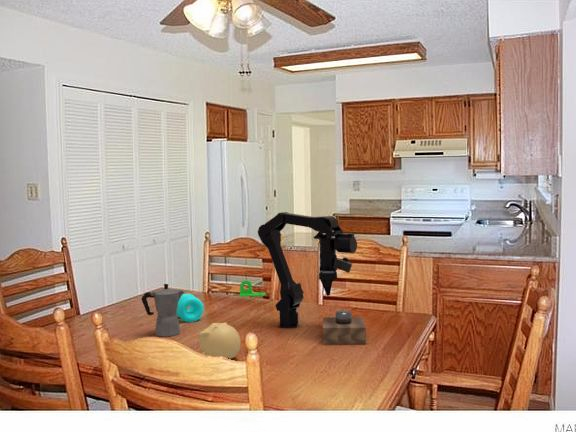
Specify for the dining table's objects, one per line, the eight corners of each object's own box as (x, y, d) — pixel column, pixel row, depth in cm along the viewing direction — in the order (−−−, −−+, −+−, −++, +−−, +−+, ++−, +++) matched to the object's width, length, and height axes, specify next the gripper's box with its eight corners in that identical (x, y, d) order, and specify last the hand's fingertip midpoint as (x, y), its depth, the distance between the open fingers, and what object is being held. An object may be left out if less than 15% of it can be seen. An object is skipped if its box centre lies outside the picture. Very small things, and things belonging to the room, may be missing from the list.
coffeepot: (182, 327, 206) (180, 280, 205) (189, 333, 197) (187, 284, 196) (140, 333, 199) (138, 284, 198) (145, 340, 191) (143, 288, 190)
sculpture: (216, 350, 177) (215, 316, 177) (247, 355, 171) (246, 321, 170) (193, 360, 167) (192, 325, 167) (225, 366, 161) (224, 329, 161)
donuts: (197, 316, 224) (196, 291, 223) (204, 321, 215) (204, 296, 214) (173, 319, 220) (172, 294, 219) (179, 324, 211) (178, 298, 210)
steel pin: (336, 339, 185) (335, 314, 184) (335, 334, 190) (335, 310, 190) (352, 338, 185) (351, 313, 184) (351, 334, 190) (351, 310, 189)
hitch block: (323, 344, 181) (322, 327, 181) (323, 332, 195) (322, 317, 195) (366, 344, 180) (365, 327, 180) (363, 332, 194) (362, 317, 194)
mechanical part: (239, 299, 256) (238, 282, 255) (240, 296, 262) (240, 280, 261) (264, 299, 255) (264, 282, 255) (266, 296, 261) (265, 279, 261)
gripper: (351, 255, 185) (352, 300, 186) (349, 248, 204) (349, 290, 205) (318, 255, 186) (319, 301, 187) (319, 248, 204) (319, 290, 205)
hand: (328, 295), depth 196 cm, fingers closed
